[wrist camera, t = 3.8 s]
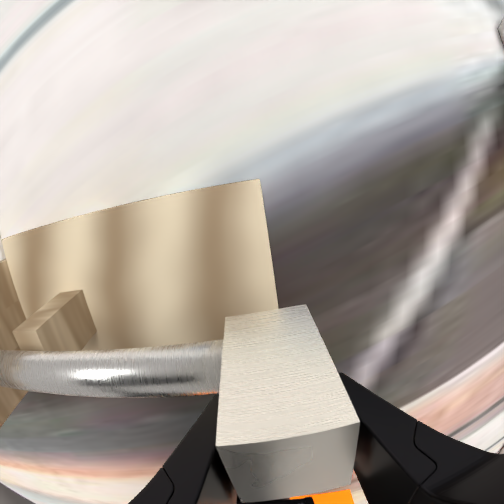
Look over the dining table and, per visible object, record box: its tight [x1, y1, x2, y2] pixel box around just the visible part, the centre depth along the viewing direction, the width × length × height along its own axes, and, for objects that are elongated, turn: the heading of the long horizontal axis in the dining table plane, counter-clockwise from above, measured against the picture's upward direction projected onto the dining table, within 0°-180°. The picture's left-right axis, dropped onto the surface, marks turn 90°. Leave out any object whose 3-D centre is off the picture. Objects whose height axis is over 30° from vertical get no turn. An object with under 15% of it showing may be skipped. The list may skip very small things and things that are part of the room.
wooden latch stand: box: [0, 179, 279, 428], centre depth 13 cm, size 29×14×12 cm, turn 99°
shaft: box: [0, 304, 360, 503], centre depth 8 cm, size 21×3×6 cm, turn 99°
